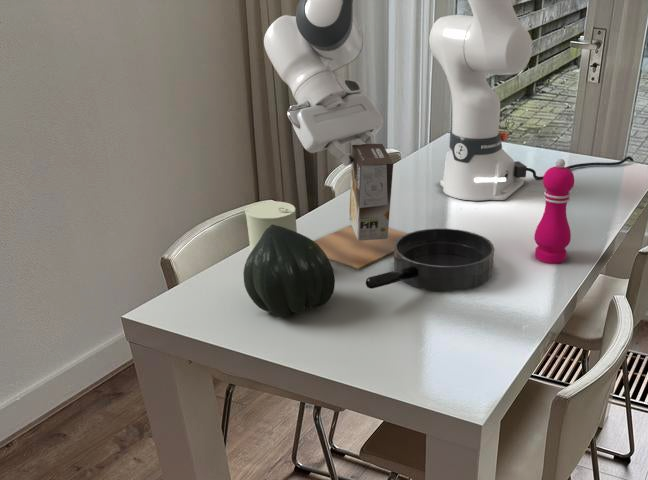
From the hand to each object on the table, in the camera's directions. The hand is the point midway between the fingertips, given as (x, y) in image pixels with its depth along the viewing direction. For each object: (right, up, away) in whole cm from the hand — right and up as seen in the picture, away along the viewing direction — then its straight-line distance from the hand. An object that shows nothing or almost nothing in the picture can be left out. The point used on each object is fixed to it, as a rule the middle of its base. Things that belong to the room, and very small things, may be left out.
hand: (362, 159), depth 149 cm
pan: (+16, -22, 0) cm, 27 cm away
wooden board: (-1, -15, +10) cm, 18 cm away
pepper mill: (+37, -18, +7) cm, 42 cm away
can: (-16, -21, -1) cm, 27 cm away
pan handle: (+7, -26, -12) cm, 30 cm away
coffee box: (0, -12, +7) cm, 14 cm away
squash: (-11, -30, -14) cm, 35 cm away
